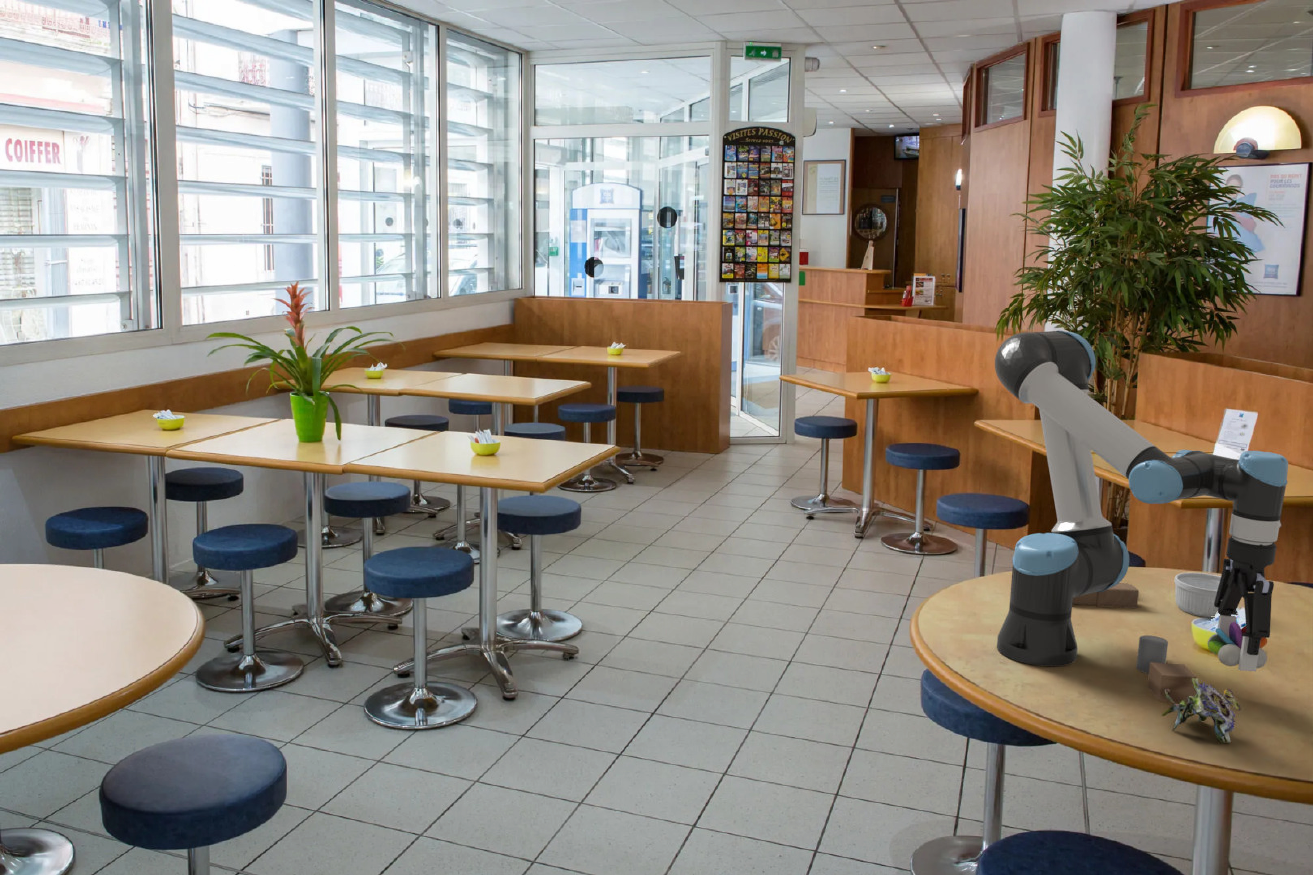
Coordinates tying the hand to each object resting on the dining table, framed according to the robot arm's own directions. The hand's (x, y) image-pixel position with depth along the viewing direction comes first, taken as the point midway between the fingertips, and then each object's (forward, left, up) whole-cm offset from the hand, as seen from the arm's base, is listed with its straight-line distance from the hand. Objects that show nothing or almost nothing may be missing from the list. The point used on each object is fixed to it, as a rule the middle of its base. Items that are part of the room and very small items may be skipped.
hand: (1234, 659), depth 192 cm
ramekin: (+16, +50, -7) cm, 53 cm away
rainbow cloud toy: (0, 0, -1) cm, 1 cm away
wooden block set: (-7, +57, -8) cm, 58 cm away
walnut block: (-11, 0, -7) cm, 13 cm away
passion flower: (-13, -17, -7) cm, 22 cm away
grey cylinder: (-10, +12, -7) cm, 17 cm away
